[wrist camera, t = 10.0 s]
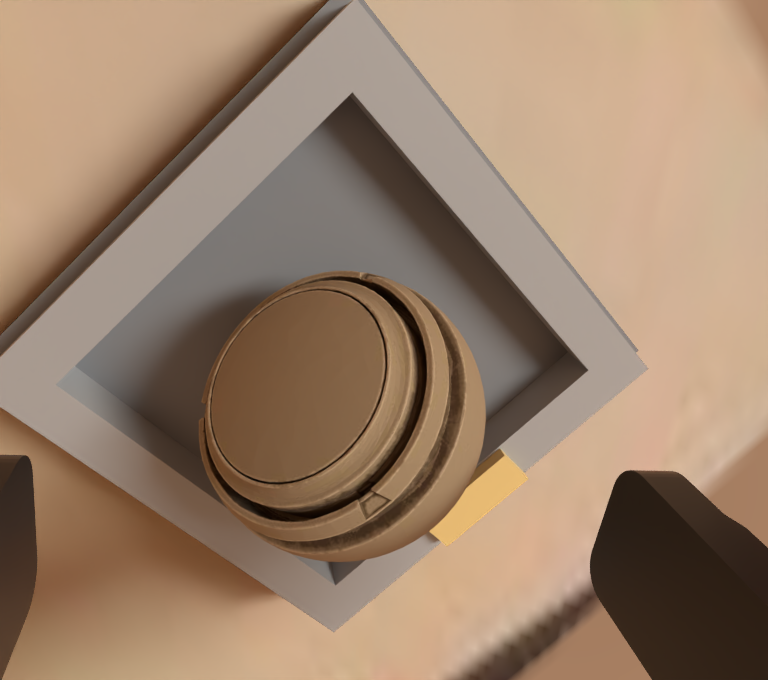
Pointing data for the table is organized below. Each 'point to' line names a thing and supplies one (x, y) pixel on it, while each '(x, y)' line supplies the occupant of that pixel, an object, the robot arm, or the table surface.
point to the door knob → (342, 417)
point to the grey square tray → (299, 260)
